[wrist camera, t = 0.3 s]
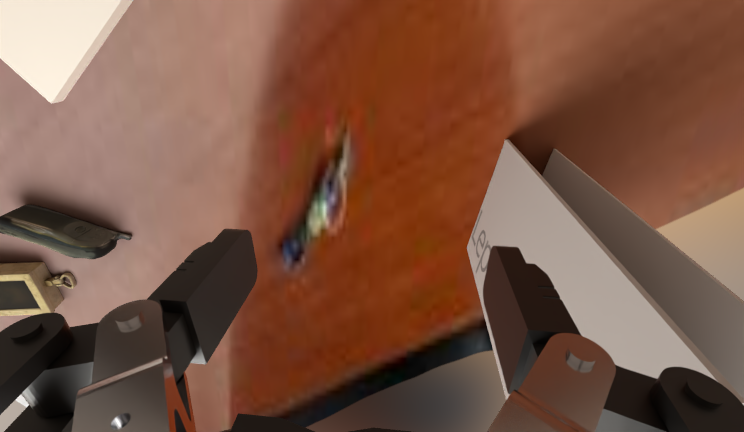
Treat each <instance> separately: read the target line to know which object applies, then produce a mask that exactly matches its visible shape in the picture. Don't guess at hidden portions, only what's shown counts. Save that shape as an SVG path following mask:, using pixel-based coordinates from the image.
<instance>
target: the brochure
mask: <svg viewBox="0 0 744 432" xmlns="http://www.w3.org/2000/svg"><path fill="white" fill-rule="evenodd" d="M493 246H508V247H518V248H519V249H520V251H521V253H522V255H523V257H524V259H525V261H526V263H530V264H536V265H537V266H538V267H539V268H541V269H542V270H543V271H544V272H545V273H546V274H548V276H549V278H550V280H551V281H552V283H553V285H554V289H556V290H557V292H558V294H559V296H560V300H562V301H563V303H564V305H565V307H566V308H567V310H568V312H569V314H570V316H571V317H572V319H573V321H574V323H575V325H576V326H577V328H578V330H579V332H580V334H581V335H582V336H583V337H585V338H588V339H590V340H592V341H593V342H595V343H597V344H598V345H600V346H601V347H602V348H603V349H604V350H605V351H606V352H607V353H608V354H609V355H610V356H611V358H612V360H613V361H614V364H615V365H617V366H620V367H622V368H625V369H628V370H631V371H634V372H638V373H641V374H644V375H647V376H650V377H653V378H656V379H658V377H659V375H660V374H661V372H662V371H663V370H664V369H666V368H669V367H684V368H688V369H692V370H695V371H698V372H700V373H702V374H705V375H707V376H709V377H711V378H712V379H714V380H716V381H717V382H719V383H720V384H722V385H723V386H724V387H726V388H727V389H728V390H730V391H731V392H732V393H733V394H734V395H735V396H736V397H737V398H738V399H739V400H740V402H741V403H742V404H743V405H744V301H743V300H742V299H740V298H739V297H738V296H737V295H735V294H734V293H733V292H732V291H731V290H729V289H728V288H727V287H726V286H724V285H723V284H722V283H721V282H719V281H718V280H717V279H716V278H714V277H713V276H712V275H711V274H709V273H708V272H707V271H706V270H705V269H703V268H702V267H701V266H700V265H698V264H697V263H696V262H695V261H694V260H692V259H691V258H689V256H687V255H686V254H685V253H684V252H682V251H681V250H680V249H679V248H678V247H676V246H675V245H674V244H673V243H671V242H670V241H669V240H668V239H666V238H665V237H664V236H663V235H661V234H660V233H659V232H658V231H657V230H655V229H654V228H653V227H652V226H650V225H649V224H648V223H647V222H645V221H644V220H643V219H642V218H641V217H639V216H638V215H637V214H636V213H634V212H633V211H632V210H631V209H629V208H628V207H627V206H626V205H625V204H623V203H622V202H621V201H620V200H618V199H617V198H616V197H615V196H613V195H612V194H611V193H610V192H608V191H607V190H606V189H605V188H604V187H602V186H601V185H600V184H599V183H597V182H596V181H595V180H594V179H592V178H591V177H590V176H589V175H588V174H586V173H585V172H584V171H583V170H581V169H580V168H579V167H578V166H576V165H575V164H574V163H573V162H572V161H570V160H569V159H568V158H567V157H565V156H564V155H563V154H562V153H560V152H559V151H558V150H557V149H553V151H552V154H551V156H550V158H549V161H548V163H547V165H546V168H545V170H544V172H543V175H542V176H541V175H540V173H539V172H538V171H537V170H536V169H535V168H534V167H533V166H532V165H531V164H530V162H529V161H528V160H527V159H526V158H525V157H524V156H523V155H522V154H521V152H520V151H519V150H518V149H517V148H516V147H515V146H514V145H513V144H512V143H511V141H510V140H509V139H507V140H505V143H504V145H503V148H502V151H501V154H500V156H499V159H498V162H497V165H496V168H495V170H494V173H493V176H492V179H491V182H490V184H489V187H488V190H487V193H486V195H485V198H484V201H483V204H482V207H481V209H480V212H479V215H478V218H477V221H476V223H475V226H474V229H473V232H472V234H471V237H470V240H469V243H468V246H467V251H468V255H469V258H470V262H471V266H472V270H473V274H474V278H475V281H476V285H477V289H478V293H479V297H480V301H481V304H482V308H483V312H484V316H485V320H486V324H487V328H488V331H489V335H490V339H491V343H492V347H493V351H494V354H495V358H496V362H497V366H498V370H499V374H500V377H501V381H502V385H503V389H504V393H505V397H506V400H507V399H508V397H509V396H510V394H508V392H507V388H506V384H505V380H504V376H503V373H502V369H501V365H500V361H499V358H498V354H497V350H496V346H495V343H494V339H493V335H492V331H491V328H490V324H489V320H488V316H487V313H486V309H485V305H484V300H483V285H484V280H485V275H486V270H487V265H488V260H489V256H490V251H491V248H492V247H493Z"/></svg>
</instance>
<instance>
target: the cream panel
mask: <svg viewBox="0 0 744 432" xmlns="http://www.w3.org/2000/svg"><path fill="white" fill-rule="evenodd" d="M132 2H133V0H0V58H1V59H2V60H3V61H4V62H5V63H6V64H7V65H8V66H10V67H11V68H12V69H13V70H14V71H15V72H16V73H18V74H19V75H20V76H21V77H22V78H23V79H24V80H25V81H27V82H28V83H29V84H30V85H31V86H32V87H33V88H34V89H36V90H37V91H38V92H39V93H40V94H41V95H42V96H43V97H45V98H46V99H47V100H48V101H49V102H50V103H56V102H61V101H64V99H65V98H66V96H67V95H68V93H69V92H70V91H71V89H72V88H73V86H74V85H75V83H76V82H77V80H78V79H79V78H80V76H81V75H82V73H83V72H84V70H85V69H86V68H87V66H88V65H89V63H90V62H91V60H92V59H93V58H94V56H95V55H96V53H97V52H98V50H99V49H100V47H101V46H102V45H103V43H104V42H105V40H106V39H107V37H108V36H109V35H110V33H111V32H112V30H113V29H114V27H115V26H116V25H117V23H118V22H119V20H120V19H121V17H122V16H123V15H124V13H125V12H126V10H127V9H128V7H129V6H130V4H131V3H132Z"/></svg>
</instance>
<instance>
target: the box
mask: <svg viewBox="0 0 744 432" xmlns="http://www.w3.org/2000/svg"><path fill="white" fill-rule="evenodd" d="M64 276H65V277H68V278H69V280H70V282H71V284H72V285H70V284H68V283H66V282H65V281H64V280H63V278H64ZM62 285H64V286H66V287H68V288H71V289H72V288H74V287H75V286H76V281H75V278H74V277H73V275H72V274H71V273H64V274H63V275H62V276H59V275H57V276H55V277H54V278H52V276H51V274H50V272H49V270H48V269H47V267H46V265H45V263H44V262H32V263H5V264H0V316H11V315H34V314H42V313H53V312H54V311H55V308H56V307H57V306H58V305H59V304H60V303H61V302H62V301H63V300H64V299H63V297H62V295H61V293H60V291H59V289H58V287H57V286H62Z"/></svg>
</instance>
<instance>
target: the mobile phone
mask: <svg viewBox="0 0 744 432" xmlns="http://www.w3.org/2000/svg"><path fill="white" fill-rule="evenodd" d="M0 233H3V234H7V235H10V236H13V237H17V238H20V239H23V240H25V241H28V242H31V243H35V244H38V245H41V246H44V247H47V248H49V249H51V250H54V251H56V252H59V253H61V254H63V255H66V256H69V257H73V258H87V259H96V258H100V257H102V256H105V255H106V254H108V253H109V252H110V251H111V250H113V249H114V248H115V247H116V244H117V240H118V239H121V238H122V239H126V240H130V239H131V236H130V235H127V234H123V233H119V232H115V231H111V230H108V229H106V228H103V227H99V226H96V225H94V224H91V223H88V222H85V221H82V220H78V219H75V218H72V217H69V216H67V215H64V214H61V213H58V212H55V211H52V210H49V209H46V208H43V207H40V206H35V205H25V206H22V207H20V208H18V209H15V210H13V211H11V212H9V213H7V214H5V215H2V216H1V217H0Z"/></svg>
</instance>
